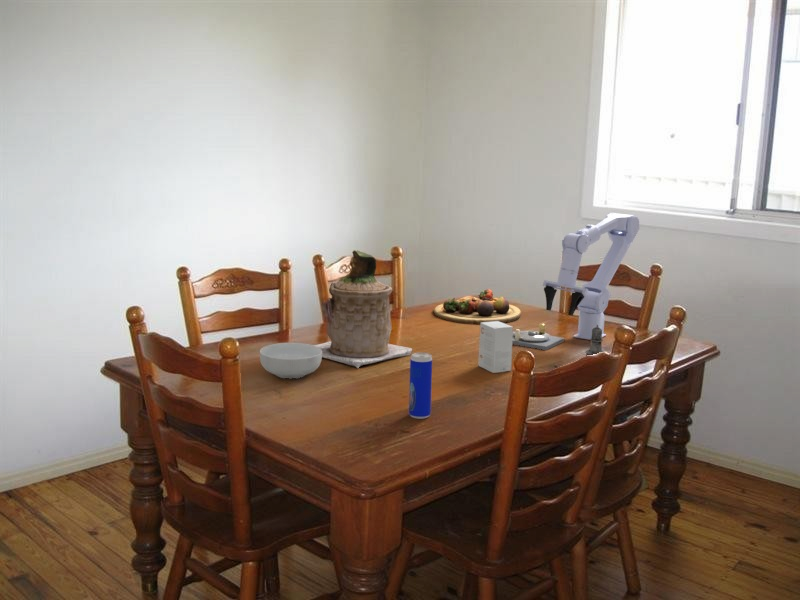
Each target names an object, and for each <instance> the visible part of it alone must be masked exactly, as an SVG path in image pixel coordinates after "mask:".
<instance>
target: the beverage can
mask: <svg viewBox="0 0 800 600" xmlns="http://www.w3.org/2000/svg"><path fill="white" fill-rule="evenodd" d="M432 376H433V358H432V354H431V353H427V352H415V353H411V356H410V363H409V393H408V395H409V397H408V398H409V399H408V400H409V401H408V402H409V403H408V415H409V416H410V417H411V418H413V419H417V420H418V419H419V420H423V419H427V418H429V417H430V416H431V410H432V409H431V408H432V380H433V377H432Z"/></svg>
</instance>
